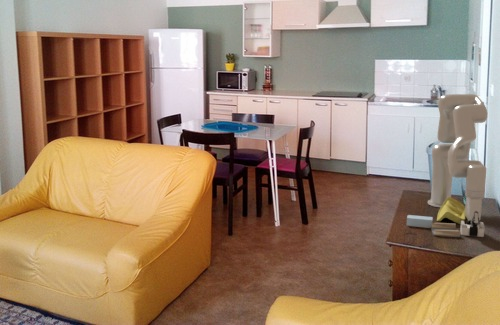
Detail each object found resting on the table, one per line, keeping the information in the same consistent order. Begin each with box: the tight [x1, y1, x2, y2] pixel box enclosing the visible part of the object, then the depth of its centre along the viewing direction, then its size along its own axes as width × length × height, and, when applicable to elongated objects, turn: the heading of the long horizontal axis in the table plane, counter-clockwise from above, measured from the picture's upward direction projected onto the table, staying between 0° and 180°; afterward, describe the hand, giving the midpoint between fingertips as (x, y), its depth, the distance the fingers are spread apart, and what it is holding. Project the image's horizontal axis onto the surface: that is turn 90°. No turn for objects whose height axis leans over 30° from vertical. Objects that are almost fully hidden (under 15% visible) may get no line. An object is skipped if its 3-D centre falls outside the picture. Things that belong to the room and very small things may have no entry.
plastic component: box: [436, 196, 466, 225], centre depth 245 cm, size 20×7×10 cm
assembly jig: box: [430, 222, 462, 238], centre depth 226 cm, size 10×11×3 cm
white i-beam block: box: [459, 220, 485, 238], centre depth 223 cm, size 5×9×5 cm, turn 72°
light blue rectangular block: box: [406, 214, 434, 229], centre depth 236 cm, size 4×11×4 cm, turn 69°
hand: (471, 232), depth 224 cm, fingers closed on white i-beam block, 5 cm apart
